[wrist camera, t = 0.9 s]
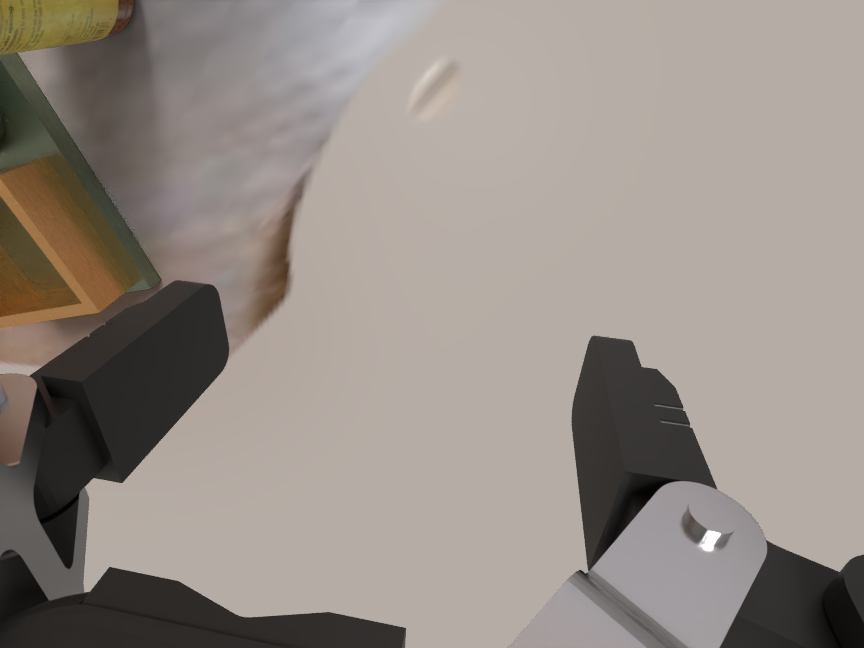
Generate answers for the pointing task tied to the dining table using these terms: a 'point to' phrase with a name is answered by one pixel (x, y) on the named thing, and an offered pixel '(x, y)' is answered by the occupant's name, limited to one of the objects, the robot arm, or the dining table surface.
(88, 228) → the chute mount
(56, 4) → the sauce bottle
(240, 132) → the dining table surface
